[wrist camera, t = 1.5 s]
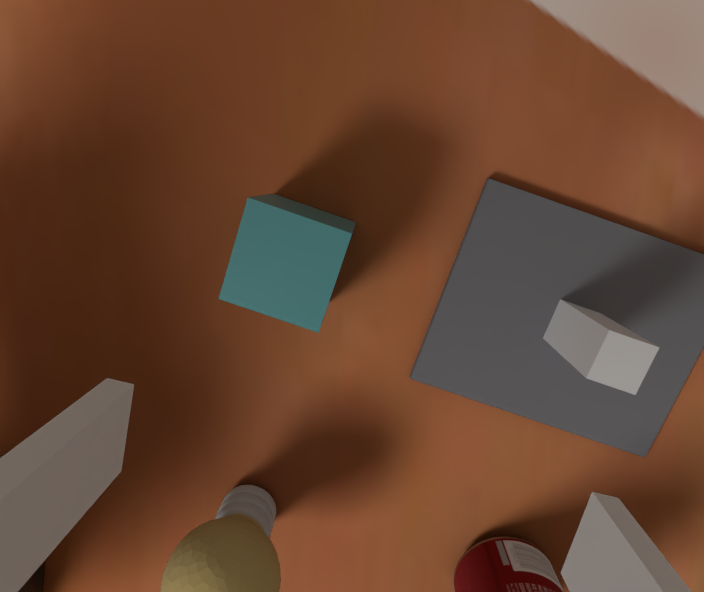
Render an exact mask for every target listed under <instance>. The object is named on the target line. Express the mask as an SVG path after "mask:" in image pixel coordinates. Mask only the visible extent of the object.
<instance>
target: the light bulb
mask: <svg viewBox="0 0 704 592" xmlns="http://www.w3.org/2000/svg"><path fill="white" fill-rule="evenodd" d="M275 517H276V505H275V502H274V500H273V498H272V497H271V495H270V494H269V493H268V492H267V491H265V490H264V489H262V488H260V487H258V486H254V485H241V486H238V487H236V488H234V489H232V490H231V491H229V492H228V494H227V495H226V496H225V497H224V499H223V501H222V504H221V506H220V508H219V510H218V512H217V515H216V516H215V519H214V520H210V521H208V522H206V523H204V524H202V525H200V526H198V527H197V528H195V529H194V530H192V531H191V532H190V533H189V534H188V535H186V536H185V537H184V538H183V539H182V541H181V542H180V543H179V544H178V545H177V546H176V548H175V549H174V551H173V553H172V554H171V556H170V558H169V560H168V562H167V565H166V568H165V570H164V573H163V577H162V583H161V591H160V592H279V589H280V582H281V576H280V563H279V559H278V556H277V553H276V550H275V548H274V546H273V544H272V542H271V540H270V534H271V531H272V528H273V524H274V520H275Z"/></svg>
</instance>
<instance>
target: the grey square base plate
mask: <svg viewBox="0 0 704 592" xmlns="http://www.w3.org/2000/svg"><path fill="white" fill-rule="evenodd" d="M703 347H704V254H701V253H699V252H696V251H693V250H690V249H687V248H685V247H682V246H679V245H676V244H673V243H670V242H668V241H665V240H662V239H659V238H656V237H653V236H651V235H648V234H645V233H642V232H639V231H636V230H634V229H631V228H628V227H625V226H622V225H619V224H617V223H614V222H611V221H608V220H605V219H603V218H600V217H597V216H594V215H591V214H588V213H586V212H583V211H580V210H577V209H574V208H571V207H569V206H566V205H563V204H560V203H557V202H554V201H552V200H549V199H546V198H543V197H540V196H538V195H535V194H532V193H529V192H526V191H523V190H521V189H518V188H515V187H512V186H509V185H506V184H504V183H501V182H498V181H495V180H492V179H489V178H487V180H486V183H485V185H484V188H483V190H482V193H481V195H480V198H479V201H478V203H477V206H476V208H475V211H474V213H473V216H472V218H471V221H470V223H469V226H468V229H467V231H466V234H465V236H464V239H463V241H462V244H461V246H460V249H459V251H458V254H457V257H456V259H455V262H454V264H453V267H452V269H451V272H450V274H449V277H448V280H447V282H446V285H445V287H444V290H443V292H442V295H441V297H440V300H439V302H438V305H437V308H436V310H435V313H434V315H433V318H432V320H431V323H430V325H429V328H428V330H427V333H426V336H425V338H424V341H423V343H422V346H421V348H420V351H419V353H418V356H417V359H416V361H415V364H414V366H413V369H412V371H411V374H410V379H413V380H416V381H419V382H422V383H425V384H428V385H431V386H434V387H437V388H440V389H443V390H446V391H449V392H452V393H455V394H458V395H461V396H464V397H467V398H470V399H472V400H475V401H478V402H481V403H484V404H487V405H490V406H493V407H496V408H499V409H502V410H505V411H508V412H511V413H514V414H517V415H520V416H523V417H526V418H529V419H532V420H535V421H538V422H541V423H544V424H547V425H550V426H553V427H556V428H559V429H562V430H565V431H568V432H571V433H574V434H576V435H579V436H582V437H585V438H588V439H591V440H594V441H597V442H600V443H603V444H606V445H609V446H612V447H615V448H618V449H621V450H624V451H627V452H630V453H633V454H636V455H639V456H642V457H646V455H647V453H648V451H649V449H650V447H651V445H652V443H653V442H654V440H655V438H656V436H657V434H658V432H659V430H660V428H661V426H662V425H663V423H664V421H665V419H666V417H667V415H668V413H669V411H670V409H671V408H672V406H673V404H674V402H675V400H676V398H677V396H678V394H679V392H680V390H681V389H682V387H683V385H684V383H685V381H686V379H687V377H688V375H689V373H690V372H691V370H692V368H693V366H694V364H695V362H696V360H697V358H698V356H699V355H700V353H701V351H702V349H703Z"/></svg>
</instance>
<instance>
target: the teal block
mask: <svg viewBox="0 0 704 592" xmlns="http://www.w3.org/2000/svg"><path fill="white" fill-rule="evenodd" d="M355 225H356V222H354V221H351V220H348V219H345V218H342V217H339V216H337V215H334V214H331V213H328V212H325V211H322V210H319V209H316V208H313V207H311V206H308V205H305V204H302V203H299V202H296V201H293V200H290V199H288V198H285V197H282V196H279V195H276V194H269V195H262V196H254V197H248V198H247V202H246V205H245V209H244V212H243V216H242V219H241V223H240V226H239V230H238V233H237V236H236V240H235V243H234V247H233V250H232V254H231V257H230V261H229V264H228V268H227V271H226V275H225V278H224V282H223V285H222V289H221V292H220V295H219V299H220V300H223V301H226V302H229V303H232V304H235V305H238V306H241V307H244V308H247V309H250V310H253V311H256V312H259V313H262V314H265V315H268V316H271V317H274V318H277V319H280V320H282V321H285V322H288V323H291V324H294V325H297V326H300V327H303V328H306V329H309V330H312V331H315V332H319V330H320V327H321V324H322V321H323V318H324V315H325V312H326V310H327V307H328V304H329V301H330V298H331V295H332V292H333V289H334V286H335V283H336V281H337V278H338V275H339V272H340V269H341V266H342V263H343V260H344V257H345V254H346V251H347V248H348V245H349V242H350V239H351V236H352V234H353V231H354V228H355Z"/></svg>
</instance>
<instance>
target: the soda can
mask: <svg viewBox="0 0 704 592" xmlns="http://www.w3.org/2000/svg"><path fill="white" fill-rule="evenodd" d="M454 587H455V592H564V590H563V588H562V586H561V584H560V582H559V580H558V577H557V575H556V573H555V571H554V569H553V567H552V565H551V562H550V560H549V559H548V557H547V556H546V554H545V553H544V552H543V551H542V550H541V549H540V548H539V547H537V546H536V545H534V544H533V543H531V542H529V541H527V540H524V539H521V538H517V537H510V536H500V537H493V538H489V539H486V540H483V541H481V542H479V543H477V544H475V545H474V546H472V547H471V548H470V549H469V550H467V551H466V552H465V553H464V555H463V556H462V557H461V559H460V560H459V562H458V564H457V566H456V569H455V573H454Z"/></svg>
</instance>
